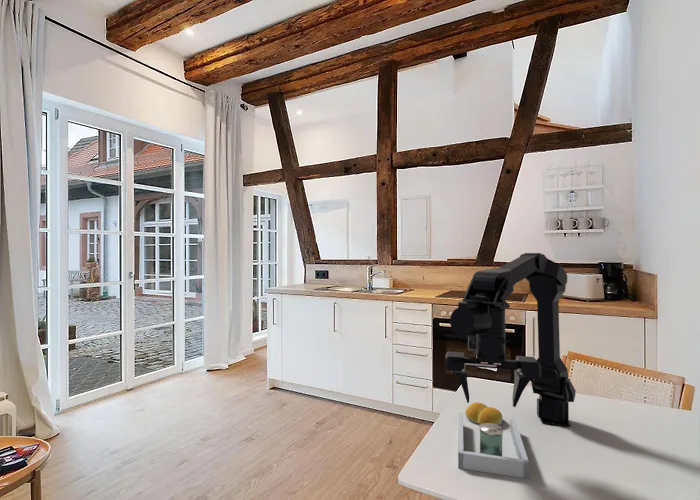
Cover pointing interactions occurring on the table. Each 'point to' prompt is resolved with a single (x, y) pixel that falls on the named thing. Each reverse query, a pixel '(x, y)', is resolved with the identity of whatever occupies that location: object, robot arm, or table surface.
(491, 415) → the bread roll
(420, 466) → the table surface
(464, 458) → the u-shaped frame
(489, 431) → the tea tin
